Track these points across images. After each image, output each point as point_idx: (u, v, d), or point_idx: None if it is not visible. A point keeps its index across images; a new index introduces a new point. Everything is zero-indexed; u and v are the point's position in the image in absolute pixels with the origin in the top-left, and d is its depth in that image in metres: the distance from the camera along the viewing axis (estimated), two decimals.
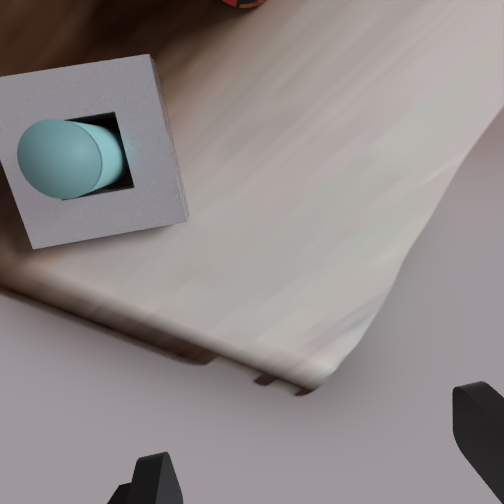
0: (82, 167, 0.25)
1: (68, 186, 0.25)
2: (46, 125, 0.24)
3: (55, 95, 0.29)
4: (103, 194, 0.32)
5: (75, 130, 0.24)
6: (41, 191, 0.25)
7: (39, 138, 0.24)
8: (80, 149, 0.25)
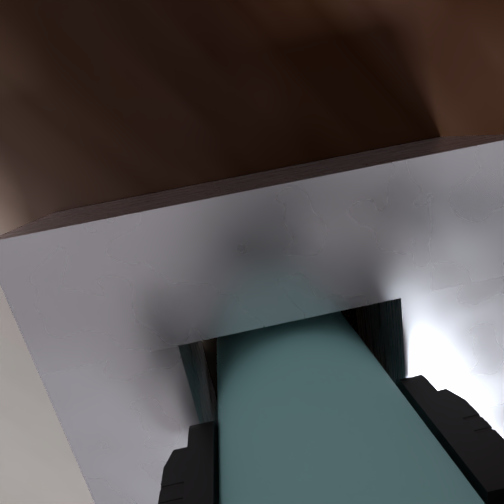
0: None
1: None
2: None
3: (464, 347, 0.11)
4: None
5: None
6: None
7: None
8: None
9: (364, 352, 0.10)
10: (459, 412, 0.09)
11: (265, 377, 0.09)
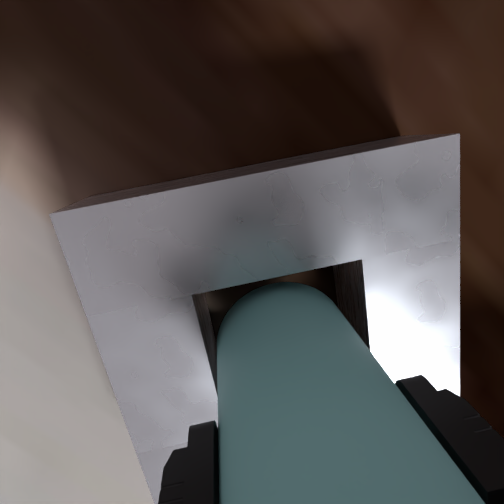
0: None
1: None
2: None
3: (413, 299, 0.14)
4: (210, 377, 0.14)
5: None
6: None
7: None
8: None
9: (364, 352, 0.10)
10: (459, 412, 0.09)
11: (265, 377, 0.09)
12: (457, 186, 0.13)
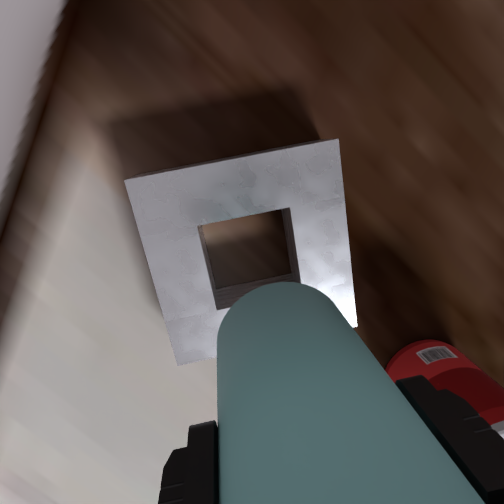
0: None
1: None
2: None
3: (320, 231, 0.25)
4: (207, 275, 0.25)
5: None
6: None
7: None
8: None
9: (364, 352, 0.10)
10: (459, 412, 0.09)
11: (265, 376, 0.09)
12: (339, 167, 0.24)
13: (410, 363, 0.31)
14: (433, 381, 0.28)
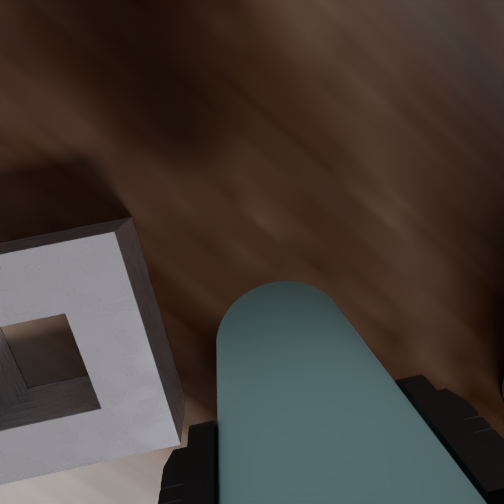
0: None
1: None
2: None
3: (111, 339, 0.20)
4: None
5: None
6: None
7: None
8: None
9: (364, 351, 0.10)
10: (459, 412, 0.09)
11: (265, 375, 0.09)
12: (122, 265, 0.19)
13: None
14: None
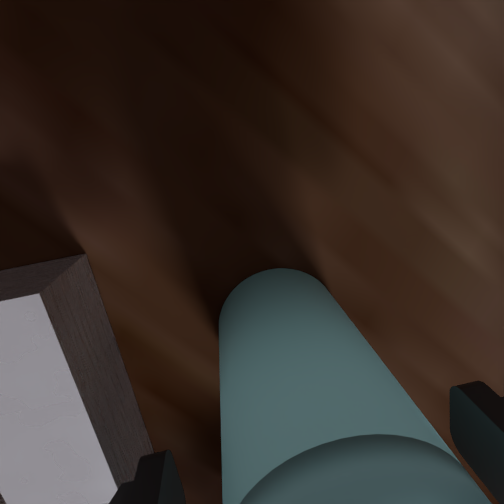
0: None
1: None
2: None
3: (45, 460, 0.12)
4: None
5: None
6: None
7: None
8: None
9: (349, 325, 0.11)
10: None
11: (261, 344, 0.10)
12: (57, 346, 0.11)
13: None
14: None
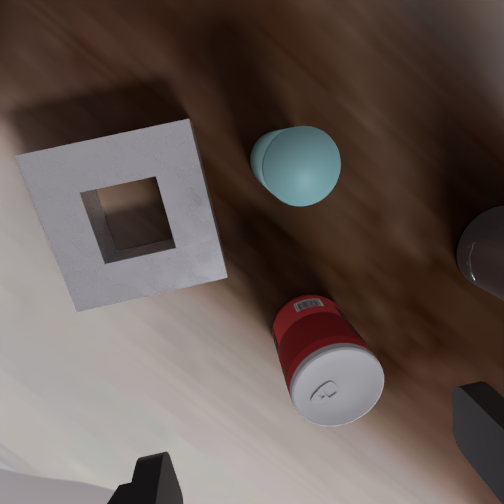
0: (295, 189, 0.25)
1: (276, 174, 0.25)
2: (335, 159, 0.25)
3: (184, 196, 0.30)
4: (93, 234, 0.31)
5: (330, 186, 0.25)
6: (271, 146, 0.24)
7: (323, 150, 0.24)
8: (312, 189, 0.25)
9: None
10: None
11: (271, 134, 0.28)
12: (193, 142, 0.29)
13: (287, 312, 0.36)
14: (296, 323, 0.34)
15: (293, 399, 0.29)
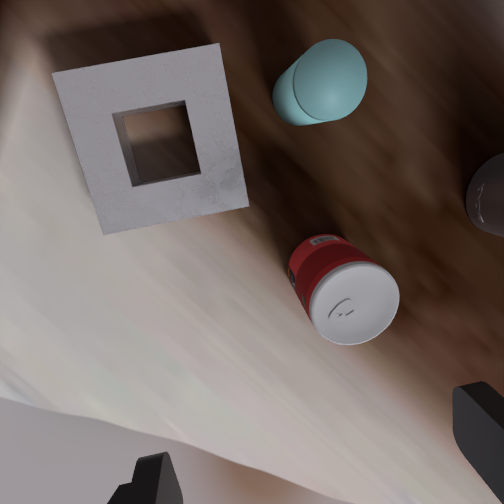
0: (324, 103, 0.26)
1: (307, 87, 0.26)
2: (362, 74, 0.26)
3: (211, 121, 0.32)
4: (122, 156, 0.32)
5: (356, 101, 0.27)
6: (303, 58, 0.25)
7: (351, 65, 0.26)
8: (340, 103, 0.27)
9: None
10: None
11: None
12: (222, 66, 0.30)
13: (303, 247, 0.38)
14: (313, 253, 0.35)
15: (313, 315, 0.30)
